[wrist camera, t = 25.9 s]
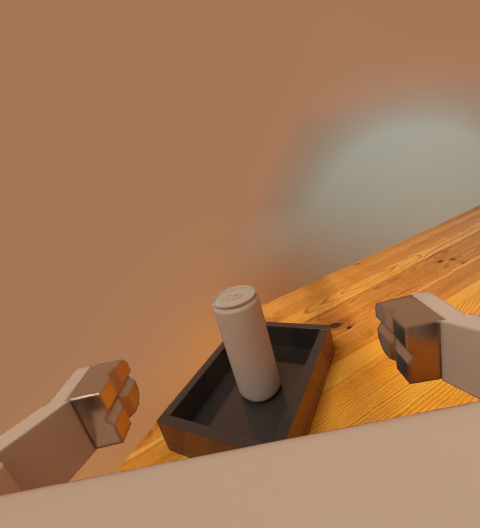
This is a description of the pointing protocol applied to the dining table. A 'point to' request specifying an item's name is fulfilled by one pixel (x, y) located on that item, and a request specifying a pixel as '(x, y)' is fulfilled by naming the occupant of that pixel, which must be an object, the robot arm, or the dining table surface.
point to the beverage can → (247, 342)
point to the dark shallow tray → (243, 410)
